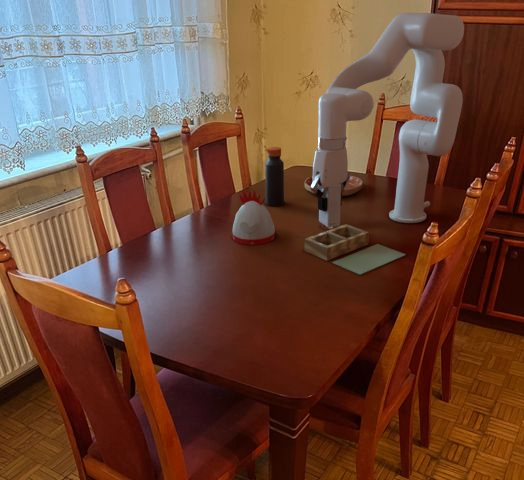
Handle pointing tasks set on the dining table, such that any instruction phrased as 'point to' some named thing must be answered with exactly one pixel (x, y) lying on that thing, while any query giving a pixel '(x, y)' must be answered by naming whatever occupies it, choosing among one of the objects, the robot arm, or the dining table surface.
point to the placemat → (368, 259)
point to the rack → (336, 242)
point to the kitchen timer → (253, 222)
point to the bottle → (274, 177)
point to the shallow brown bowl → (350, 188)
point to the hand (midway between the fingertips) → (329, 207)
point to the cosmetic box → (332, 207)
